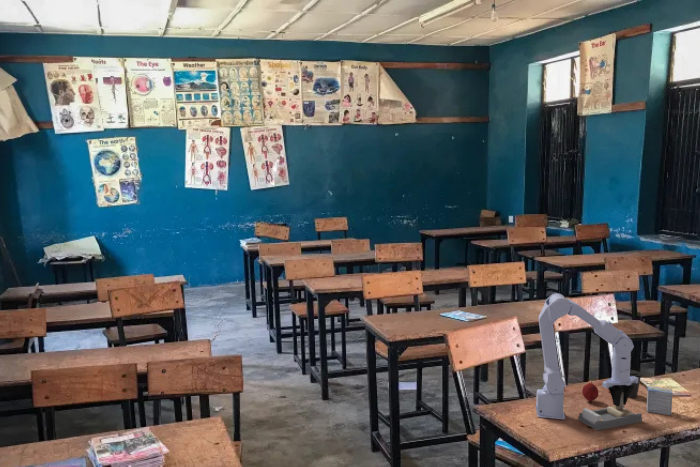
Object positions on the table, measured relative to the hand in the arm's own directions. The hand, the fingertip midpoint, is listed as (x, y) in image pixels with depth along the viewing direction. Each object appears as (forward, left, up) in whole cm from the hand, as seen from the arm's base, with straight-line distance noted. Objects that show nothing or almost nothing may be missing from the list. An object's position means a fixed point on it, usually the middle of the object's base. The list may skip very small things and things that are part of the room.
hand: (619, 404), depth 202 cm
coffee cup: (+8, +25, -6) cm, 27 cm away
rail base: (-3, -2, -5) cm, 7 cm away
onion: (-7, +15, -6) cm, 17 cm away
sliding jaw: (0, 0, -4) cm, 4 cm away
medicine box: (+16, +11, -6) cm, 20 cm away
